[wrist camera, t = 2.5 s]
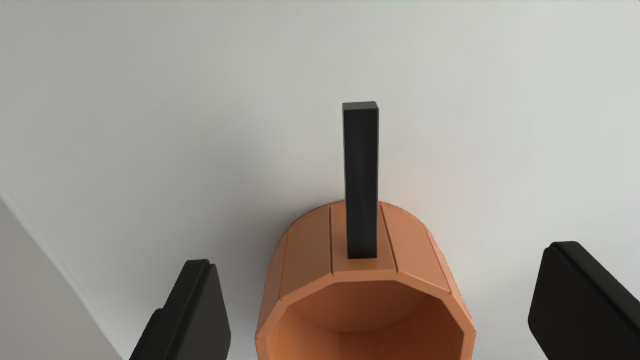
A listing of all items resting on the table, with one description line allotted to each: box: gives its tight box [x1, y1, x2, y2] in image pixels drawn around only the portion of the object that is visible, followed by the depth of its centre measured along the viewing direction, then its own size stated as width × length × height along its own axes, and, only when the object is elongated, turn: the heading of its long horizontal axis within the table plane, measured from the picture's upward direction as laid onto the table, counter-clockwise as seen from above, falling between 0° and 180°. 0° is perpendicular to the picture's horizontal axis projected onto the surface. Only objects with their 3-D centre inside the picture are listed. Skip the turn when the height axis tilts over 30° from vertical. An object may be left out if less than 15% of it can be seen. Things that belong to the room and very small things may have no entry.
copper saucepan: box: [255, 101, 476, 360], centre depth 23 cm, size 20×12×7 cm, turn 3°
